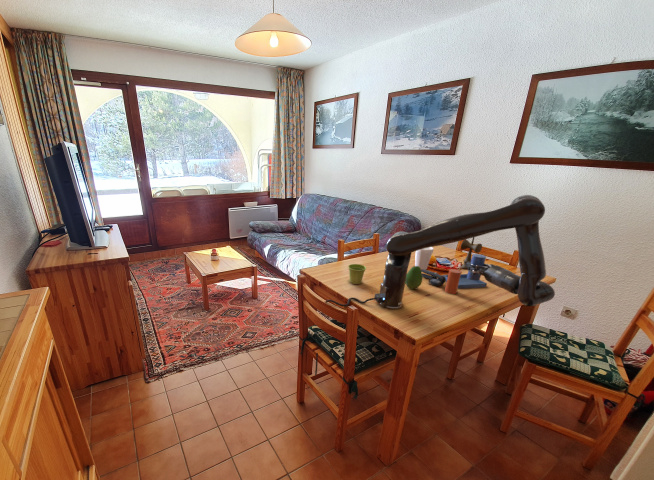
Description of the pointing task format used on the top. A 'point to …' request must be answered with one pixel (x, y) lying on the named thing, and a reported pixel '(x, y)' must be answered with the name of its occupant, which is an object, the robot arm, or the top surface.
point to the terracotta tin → (452, 281)
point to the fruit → (414, 277)
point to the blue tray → (468, 282)
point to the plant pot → (356, 273)
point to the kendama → (470, 250)
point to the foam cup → (423, 257)
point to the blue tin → (476, 260)
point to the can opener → (434, 277)
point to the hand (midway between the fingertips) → (472, 263)
